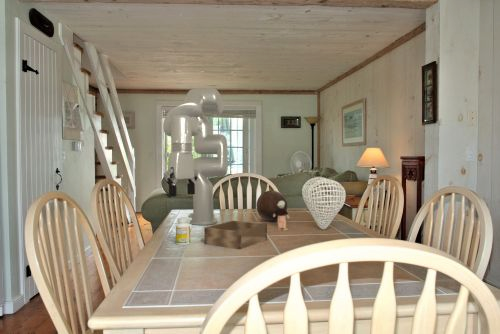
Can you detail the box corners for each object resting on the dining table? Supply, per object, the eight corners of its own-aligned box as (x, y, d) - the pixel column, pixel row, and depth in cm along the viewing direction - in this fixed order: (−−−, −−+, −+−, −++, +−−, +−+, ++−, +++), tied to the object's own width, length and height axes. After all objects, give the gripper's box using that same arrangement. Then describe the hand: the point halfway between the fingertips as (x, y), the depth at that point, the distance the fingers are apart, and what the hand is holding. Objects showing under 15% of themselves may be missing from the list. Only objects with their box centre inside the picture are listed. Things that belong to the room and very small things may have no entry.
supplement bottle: (182, 246, 145) (181, 219, 145) (172, 244, 149) (172, 218, 148) (193, 243, 149) (193, 217, 149) (184, 241, 153) (183, 216, 152)
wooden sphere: (293, 221, 194) (293, 190, 194) (268, 224, 186) (268, 192, 185) (274, 217, 207) (274, 188, 206) (250, 220, 198) (250, 190, 198)
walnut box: (204, 243, 148) (204, 227, 148) (233, 235, 163) (233, 220, 163) (239, 249, 139) (239, 232, 139) (266, 239, 154) (266, 224, 154)
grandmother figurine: (291, 229, 174) (290, 200, 174) (289, 231, 171) (288, 201, 170) (274, 228, 177) (273, 199, 176) (271, 230, 173) (271, 200, 173)
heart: (350, 235, 160) (350, 180, 159) (311, 236, 159) (311, 180, 158) (332, 223, 188) (332, 176, 187) (299, 223, 187) (299, 176, 186)
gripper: (190, 149, 157) (190, 193, 157) (156, 148, 143) (157, 196, 143) (204, 149, 153) (205, 193, 153) (171, 148, 138) (172, 197, 139)
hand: (182, 195), depth 148 cm, fingers open, 9 cm apart
